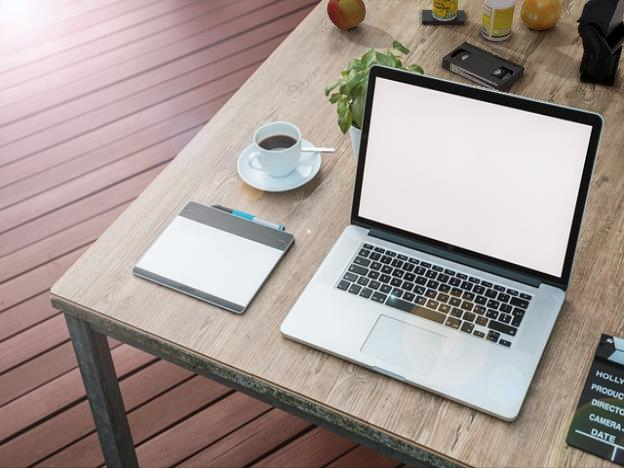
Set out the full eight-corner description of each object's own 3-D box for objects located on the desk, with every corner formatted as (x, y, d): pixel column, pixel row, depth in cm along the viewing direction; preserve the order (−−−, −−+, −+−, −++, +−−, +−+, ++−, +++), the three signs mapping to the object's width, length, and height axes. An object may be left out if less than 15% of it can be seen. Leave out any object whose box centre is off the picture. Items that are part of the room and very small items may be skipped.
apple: (341, 14, 185) (340, -20, 180) (372, 24, 182) (372, -10, 176) (321, 29, 181) (320, -4, 175) (352, 40, 177) (352, 6, 172)
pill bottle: (515, 31, 178) (522, -17, 170) (503, 45, 174) (510, -3, 166) (488, 23, 180) (493, -25, 172) (475, 37, 176) (481, -11, 169)
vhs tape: (440, 66, 170) (441, 58, 168) (464, 49, 173) (465, 41, 172) (500, 93, 162) (501, 85, 161) (523, 75, 166) (524, 67, 165)
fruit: (540, -2, 182) (535, -23, 175) (571, 14, 178) (567, -7, 171) (516, 27, 182) (510, 7, 175) (546, 44, 178) (541, 24, 171)
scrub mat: (463, 13, 183) (464, 10, 183) (464, 24, 180) (464, 21, 180) (422, 12, 184) (422, 9, 184) (422, 23, 181) (422, 20, 180)
